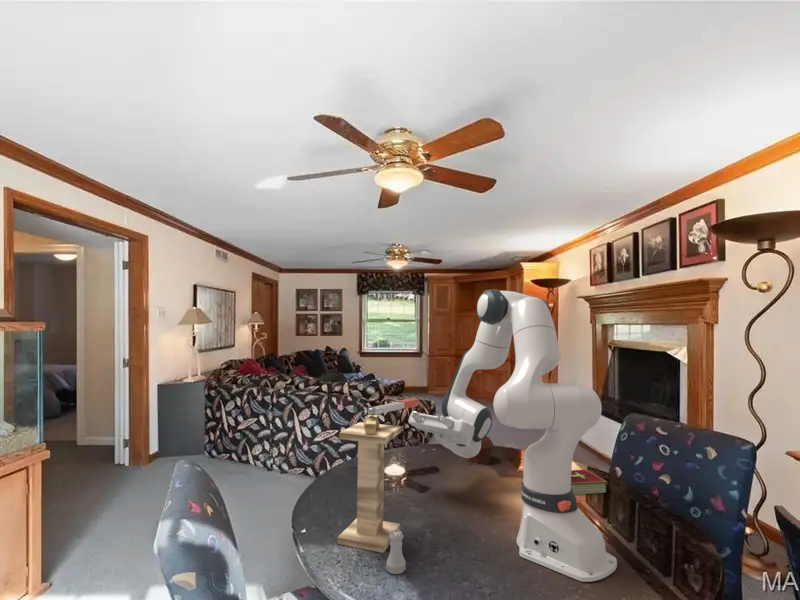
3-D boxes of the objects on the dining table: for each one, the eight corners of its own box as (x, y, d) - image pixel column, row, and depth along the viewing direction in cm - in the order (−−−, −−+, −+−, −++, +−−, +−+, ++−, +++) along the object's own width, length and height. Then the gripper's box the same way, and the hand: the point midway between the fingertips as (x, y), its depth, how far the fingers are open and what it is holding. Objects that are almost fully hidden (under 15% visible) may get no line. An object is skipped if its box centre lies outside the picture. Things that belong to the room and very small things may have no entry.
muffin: (486, 467, 163) (486, 440, 163) (459, 462, 168) (459, 436, 169) (497, 459, 173) (497, 433, 173) (470, 454, 178) (471, 429, 179)
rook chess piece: (405, 563, 98) (405, 527, 99) (406, 575, 94) (406, 536, 94) (385, 563, 98) (385, 527, 98) (385, 575, 94) (386, 536, 94)
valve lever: (373, 416, 110) (373, 409, 110) (364, 414, 112) (365, 407, 112) (418, 405, 125) (418, 399, 125) (411, 404, 126) (411, 397, 126)
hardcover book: (528, 483, 149) (528, 470, 149) (586, 480, 152) (586, 468, 152) (545, 497, 137) (545, 483, 137) (607, 494, 140) (607, 480, 140)
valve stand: (383, 552, 103) (385, 423, 104) (337, 543, 107) (339, 419, 108) (400, 529, 114) (401, 413, 115) (358, 522, 118) (359, 409, 119)
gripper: (425, 417, 146) (402, 401, 137) (479, 427, 133) (458, 410, 124) (419, 436, 144) (395, 420, 135) (474, 447, 131) (452, 431, 122)
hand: (426, 415), depth 130 cm, fingers open, 8 cm apart
